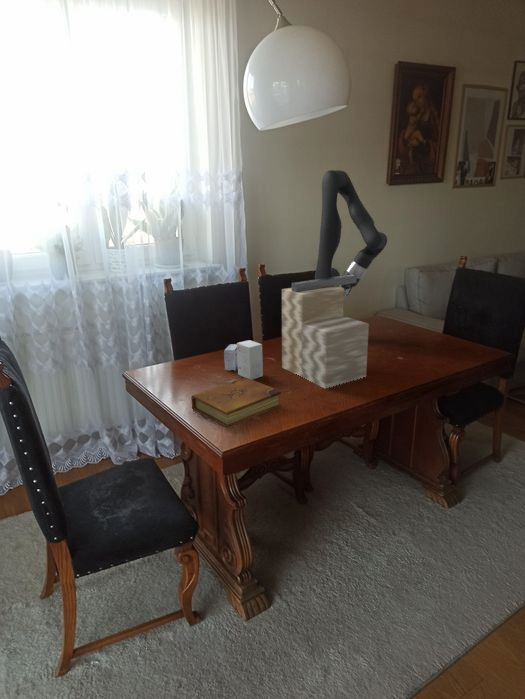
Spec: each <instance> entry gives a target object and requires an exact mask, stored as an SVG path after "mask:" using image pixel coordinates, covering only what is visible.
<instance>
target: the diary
mask: <svg viewBox="0 0 525 699" xmlns="http://www.w3.org/2000/svg"><path fill="white" fill-rule="evenodd" d="M281 394H282V391H281V390H279V389H276V388H273V387H271V386H269V385H266V384H263V383H261V382H258V381H256V380H255V379H252V380H251V379H249V378H246V377H243V378H239V379H236V380H234V381H231V382H228V383H225V384H222V385H219V386H216V387H213V388H211V389H208V390H205V391H201V392H199V393H196V394H193V395H192V396H191V408H192V410H194V411H195V412H197V413H200V414H201V415H203V416H204V417H207V418H209V419H210V420H212V421H214V422H216V423H219V424H220V425H222V426H223V427H226V428H229V427H232V426H234V425H237V424H239V423H242V422H244V421H247V420H249V419H252V418H255V417H256V416H259V415H261V414H264V413H266V412H269V411H272V410H273V409H276V408H279V407H281V406H282V403H279V395H281ZM278 406H279V407H278Z"/></svg>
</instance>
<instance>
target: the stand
mask: <svg viewBox="0 0 525 699" xmlns="http://www.w3.org/2000/svg"><path fill="white" fill-rule="evenodd" d="M344 300H345V297H344V288H341V287H337V286H333V287H327V288H320V289H314V290H308V291H301V292H294V291H292V287H287V288H281V368H282V369H284V370H286V371H289V372H290V373H292V374H294V375H296V374H297V376H298V375H299V377H300V376H301V378H302V377H303V379H304V378H305V379H304V380H306V379H307V381H308V380H309V382H310V381H311V383H312V382H313V383H312V384H314V383H315V385H316V386H318V387H321V388H323V389H326V388H327V389H330V388H333V386H334V387H337V386H340V385H344V384H347V383H350V381H351V382H354V381H358V380H361V379H364V378H363V377H365V378H366V377H367V368H368V367H367V366H368V365H367V364H368V346H369V345H368V344H369V329H370V328H369V327H370V324H369V323H367V322H364V321H361V320H359V319H358V320H357V319H355V318H354V319H353V318H351V317H348V316H345V315H344V303H345V301H344ZM360 378H361V379H360ZM357 379H358V380H357ZM353 380H354V381H353ZM346 382H347V383H346ZM343 383H344V384H343ZM339 384H340V385H339ZM336 385H337V386H336ZM329 387H330V388H329Z"/></svg>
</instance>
